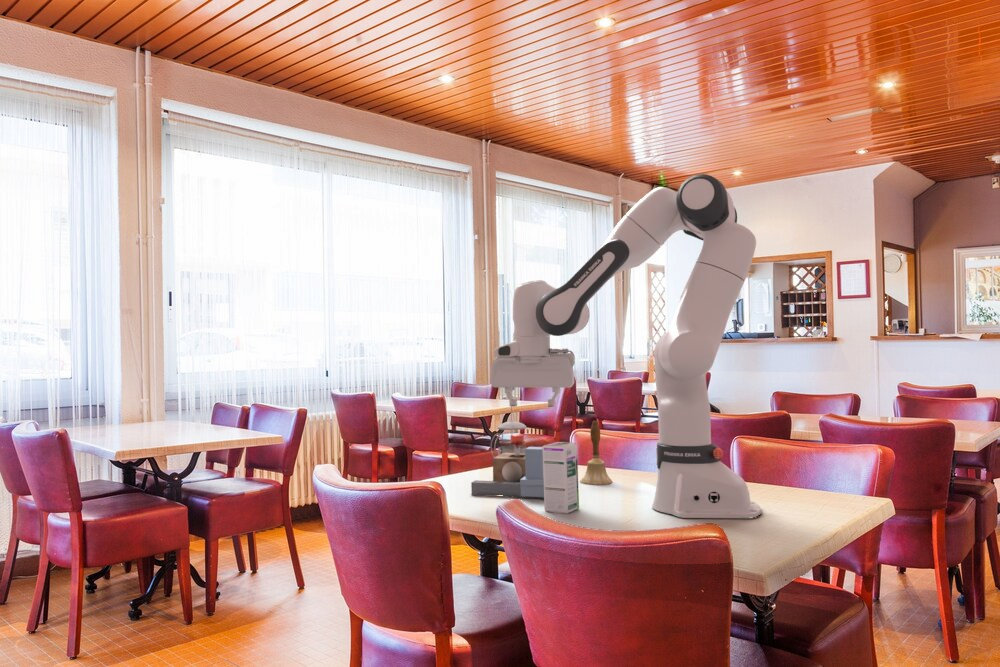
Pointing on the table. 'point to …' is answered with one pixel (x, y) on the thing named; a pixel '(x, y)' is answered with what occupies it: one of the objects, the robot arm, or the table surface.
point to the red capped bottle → (517, 443)
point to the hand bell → (596, 462)
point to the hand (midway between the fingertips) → (532, 406)
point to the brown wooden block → (508, 467)
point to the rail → (497, 488)
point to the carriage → (533, 473)
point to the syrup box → (560, 477)
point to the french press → (510, 447)
